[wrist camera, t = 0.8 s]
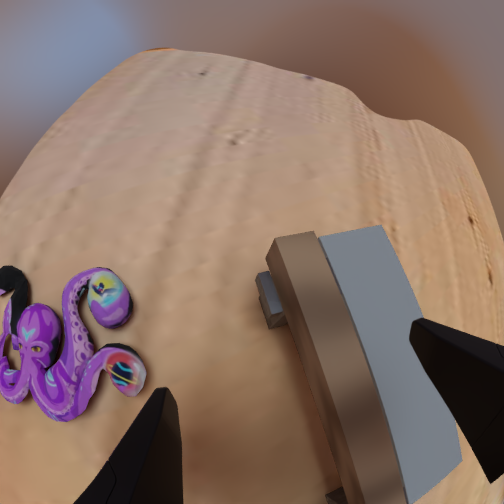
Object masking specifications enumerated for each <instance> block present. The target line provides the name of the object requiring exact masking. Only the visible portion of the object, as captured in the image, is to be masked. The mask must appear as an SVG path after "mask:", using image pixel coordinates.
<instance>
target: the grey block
mask: <svg viewBox="0 0 504 504" xmlns="http://www.w3.org/2000/svg"><path fill="white" fill-rule="evenodd" d="M326 260H327V262H328V265H329V267H330V270H331V272H332V274H333V277H334V279H335V282H336V284H337V286H338V289H339V291H340V294H342V291H341V289H340V286H339V284H338V281H337V279H336V276H335V274H334V272H333V269H332V267H331V265H330V262H329V260H328V258H326ZM255 281H256V284H257V287H258V290H259V293H260V297H259V300H260V303H261V306H262V309H263V312H264V315H265V318H266V321H267V324H268V328H269V329H272V328H275V327H279V326H282V325H286V324H288V321H287V318H286V316H285V313H284V310H283V307H282V304H281V301H280V298H279V295H278V293H277V290H276V287H275V284H274V281H273V278H272V276H271V275H270V272H269V271H266V272H262V273H258V275H257V277H256V279H255Z"/></svg>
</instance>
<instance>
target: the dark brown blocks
mask: <svg viewBox="0 0 504 504" xmlns="http://www.w3.org/2000/svg"><path fill="white" fill-rule="evenodd" d="M403 490H404V495H405V499H406V504H408V500H407V495H406V490H405V487H403ZM325 496H326V499H327V502H328V504H348V501H347V498H346V495H345V491H344V488H343V487H341V488H339V489H337V490H335V491H333V492H331V493H329V494H326V495H325Z"/></svg>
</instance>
